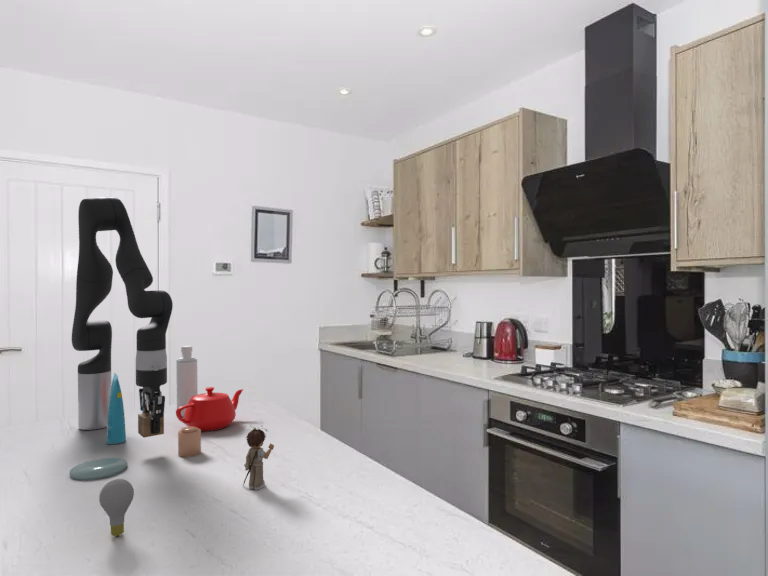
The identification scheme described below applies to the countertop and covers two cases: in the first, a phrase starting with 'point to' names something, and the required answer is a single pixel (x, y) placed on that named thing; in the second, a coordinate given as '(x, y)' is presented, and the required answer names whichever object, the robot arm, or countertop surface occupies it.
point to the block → (148, 425)
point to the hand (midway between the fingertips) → (151, 430)
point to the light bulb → (116, 503)
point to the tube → (116, 415)
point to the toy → (256, 458)
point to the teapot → (209, 410)
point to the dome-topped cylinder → (189, 442)
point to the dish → (98, 469)
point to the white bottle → (186, 377)
